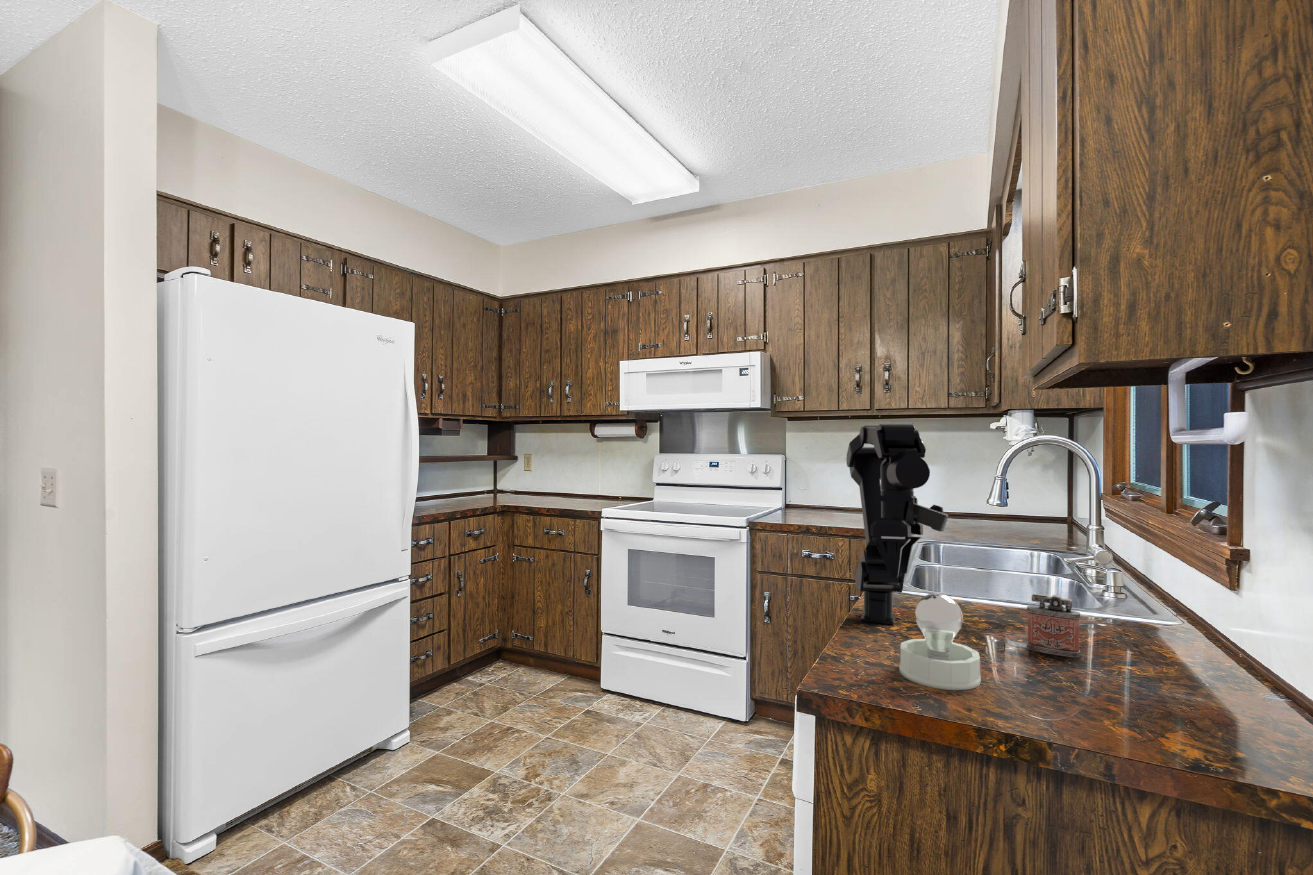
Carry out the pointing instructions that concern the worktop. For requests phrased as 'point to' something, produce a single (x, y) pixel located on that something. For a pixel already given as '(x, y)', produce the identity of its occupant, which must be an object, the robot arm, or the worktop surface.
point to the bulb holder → (940, 666)
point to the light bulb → (938, 623)
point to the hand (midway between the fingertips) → (899, 575)
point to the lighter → (1053, 626)
